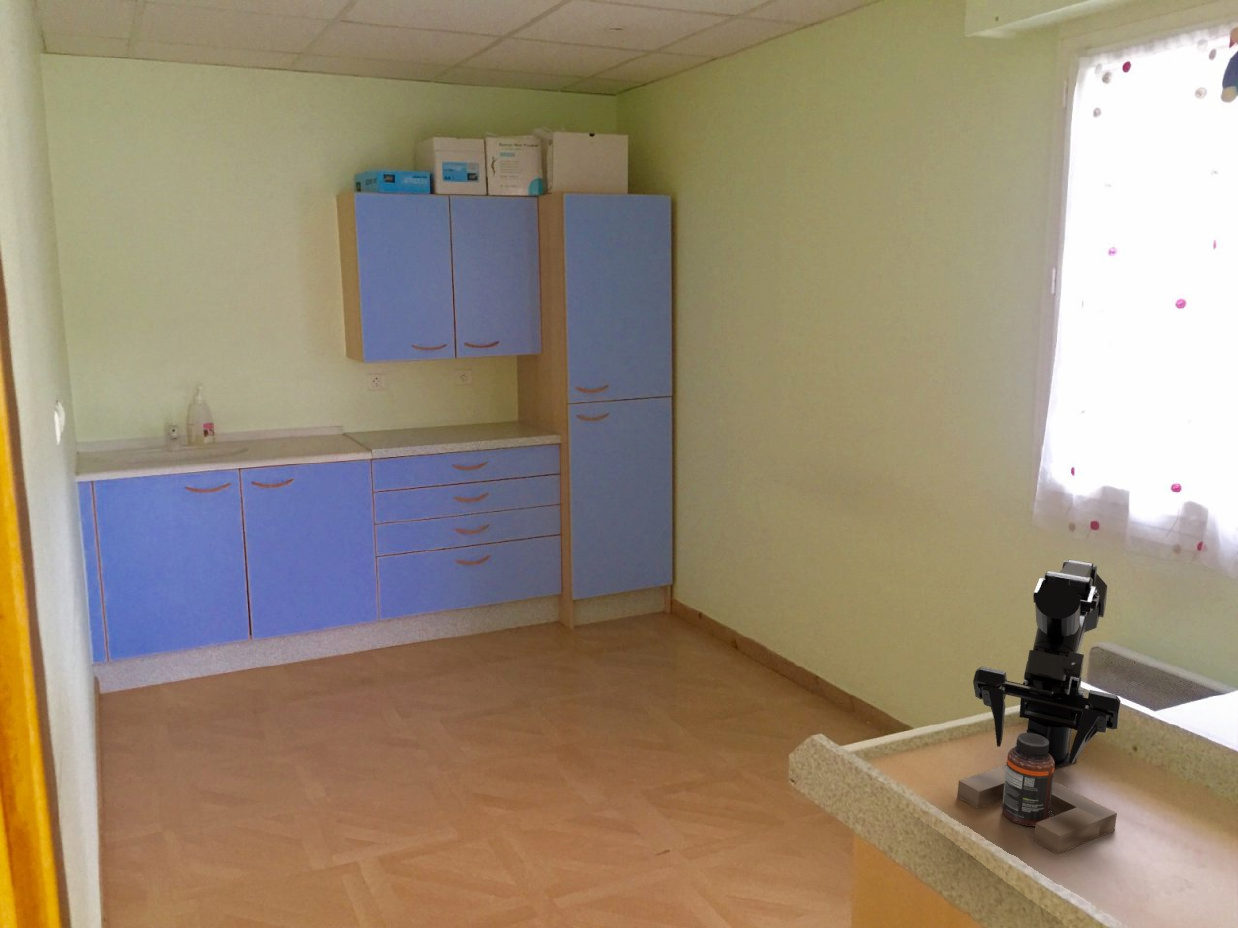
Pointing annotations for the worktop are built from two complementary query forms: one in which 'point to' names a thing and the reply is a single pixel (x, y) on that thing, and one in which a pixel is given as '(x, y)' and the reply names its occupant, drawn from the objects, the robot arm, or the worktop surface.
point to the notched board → (1072, 810)
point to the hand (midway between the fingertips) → (1033, 754)
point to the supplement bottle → (1028, 780)
